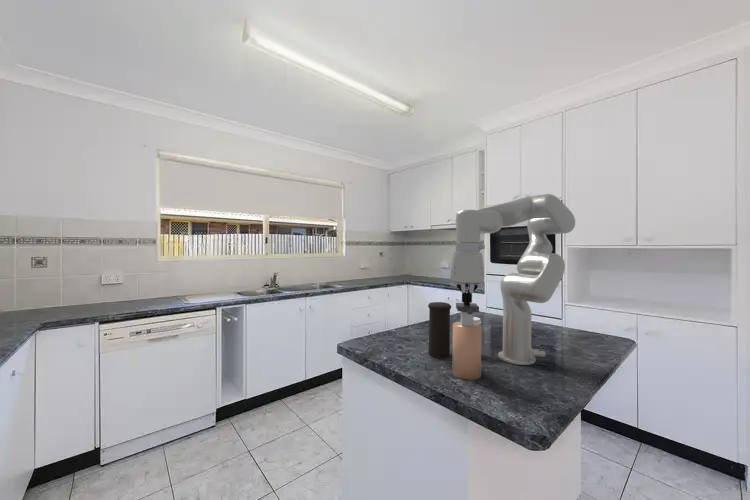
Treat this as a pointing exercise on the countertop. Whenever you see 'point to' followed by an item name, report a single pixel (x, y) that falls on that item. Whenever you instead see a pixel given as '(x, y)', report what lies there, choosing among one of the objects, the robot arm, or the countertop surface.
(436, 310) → the container
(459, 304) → the pump head
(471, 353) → the pump dispenser
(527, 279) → the robot arm
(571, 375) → the countertop surface
